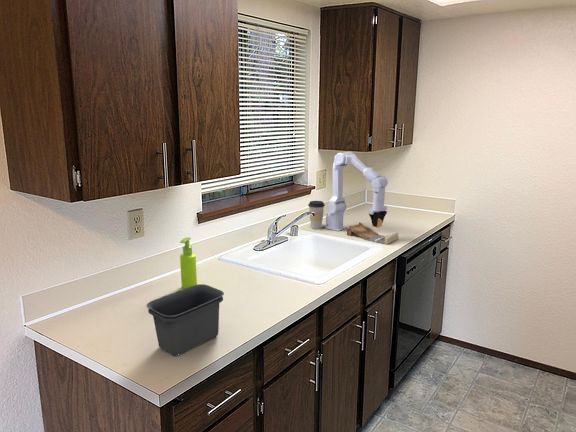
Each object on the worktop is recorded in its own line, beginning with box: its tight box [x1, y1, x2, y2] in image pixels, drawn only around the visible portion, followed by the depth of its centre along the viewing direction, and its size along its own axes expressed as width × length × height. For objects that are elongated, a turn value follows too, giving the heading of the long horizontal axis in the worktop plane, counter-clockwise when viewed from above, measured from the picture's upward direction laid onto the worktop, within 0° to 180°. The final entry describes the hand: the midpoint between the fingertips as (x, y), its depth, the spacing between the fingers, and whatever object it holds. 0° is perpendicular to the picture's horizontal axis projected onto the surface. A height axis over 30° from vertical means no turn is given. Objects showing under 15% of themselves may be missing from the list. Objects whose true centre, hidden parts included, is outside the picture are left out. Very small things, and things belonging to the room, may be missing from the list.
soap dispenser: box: [179, 237, 198, 290], centre depth 179 cm, size 6×7×20 cm
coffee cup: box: [307, 200, 326, 230], centre depth 265 cm, size 9×9×15 cm
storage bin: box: [146, 283, 225, 357], centre depth 140 cm, size 21×16×14 cm
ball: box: [375, 218, 383, 229], centre depth 244 cm, size 5×5×5 cm
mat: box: [363, 232, 399, 246], centre depth 244 cm, size 14×12×3 cm
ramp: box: [346, 222, 379, 240], centre depth 251 cm, size 14×10×7 cm
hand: (377, 225), depth 244 cm, fingers closed on ball, 5 cm apart
